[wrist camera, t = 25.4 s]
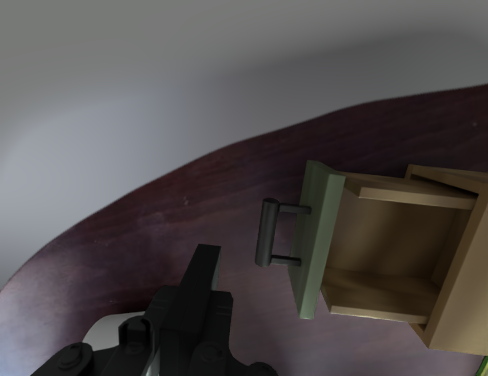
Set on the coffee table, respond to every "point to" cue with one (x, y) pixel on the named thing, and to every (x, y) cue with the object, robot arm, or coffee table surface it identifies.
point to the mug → (107, 331)
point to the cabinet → (461, 273)
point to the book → (483, 368)
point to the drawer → (368, 242)
